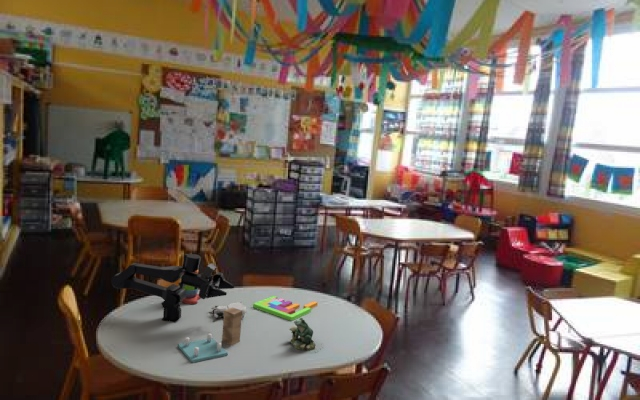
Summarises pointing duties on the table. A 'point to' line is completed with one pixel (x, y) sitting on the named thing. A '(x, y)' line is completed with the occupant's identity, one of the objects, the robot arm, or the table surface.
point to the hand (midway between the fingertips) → (230, 290)
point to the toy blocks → (283, 308)
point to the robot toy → (220, 310)
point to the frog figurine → (302, 336)
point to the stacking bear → (191, 293)
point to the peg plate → (202, 349)
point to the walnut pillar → (232, 326)
